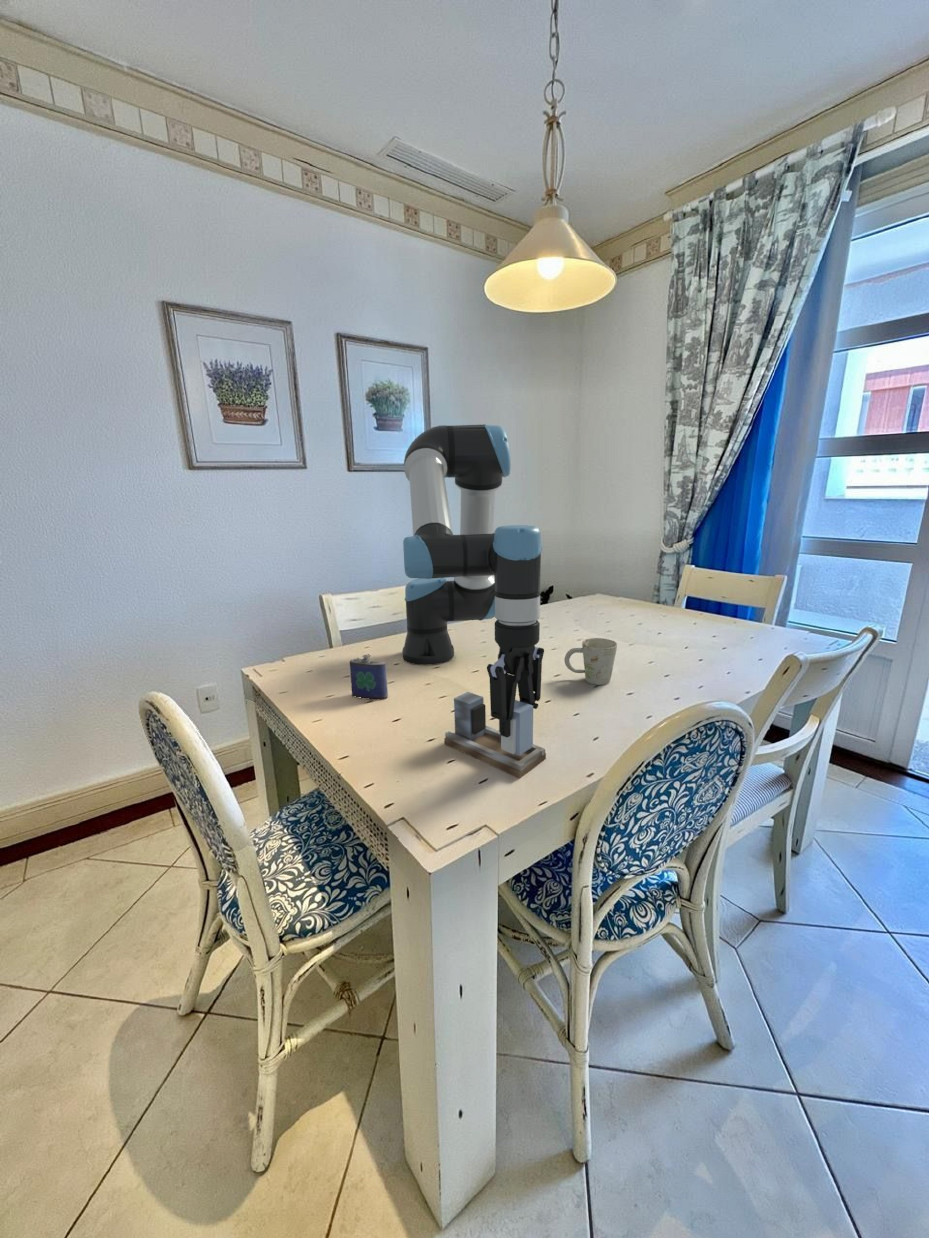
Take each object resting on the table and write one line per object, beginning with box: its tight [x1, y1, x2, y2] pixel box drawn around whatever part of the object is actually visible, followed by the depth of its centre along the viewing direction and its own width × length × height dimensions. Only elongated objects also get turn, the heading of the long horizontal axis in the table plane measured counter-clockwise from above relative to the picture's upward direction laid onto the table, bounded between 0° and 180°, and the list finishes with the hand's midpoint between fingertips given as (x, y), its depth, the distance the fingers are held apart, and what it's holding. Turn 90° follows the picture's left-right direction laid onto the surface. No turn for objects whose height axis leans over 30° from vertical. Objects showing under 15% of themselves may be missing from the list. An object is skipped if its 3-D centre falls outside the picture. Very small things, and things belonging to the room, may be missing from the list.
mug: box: [564, 637, 618, 686], centre depth 123 cm, size 8×13×10 cm, turn 78°
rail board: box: [443, 691, 547, 779], centre depth 91 cm, size 18×8×9 cm, turn 48°
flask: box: [349, 653, 389, 700], centre depth 117 cm, size 9×3×11 cm, turn 74°
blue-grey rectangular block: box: [498, 699, 534, 756], centre depth 87 cm, size 4×5×8 cm
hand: (516, 745), depth 88 cm, fingers closed on blue-grey rectangular block, 4 cm apart
